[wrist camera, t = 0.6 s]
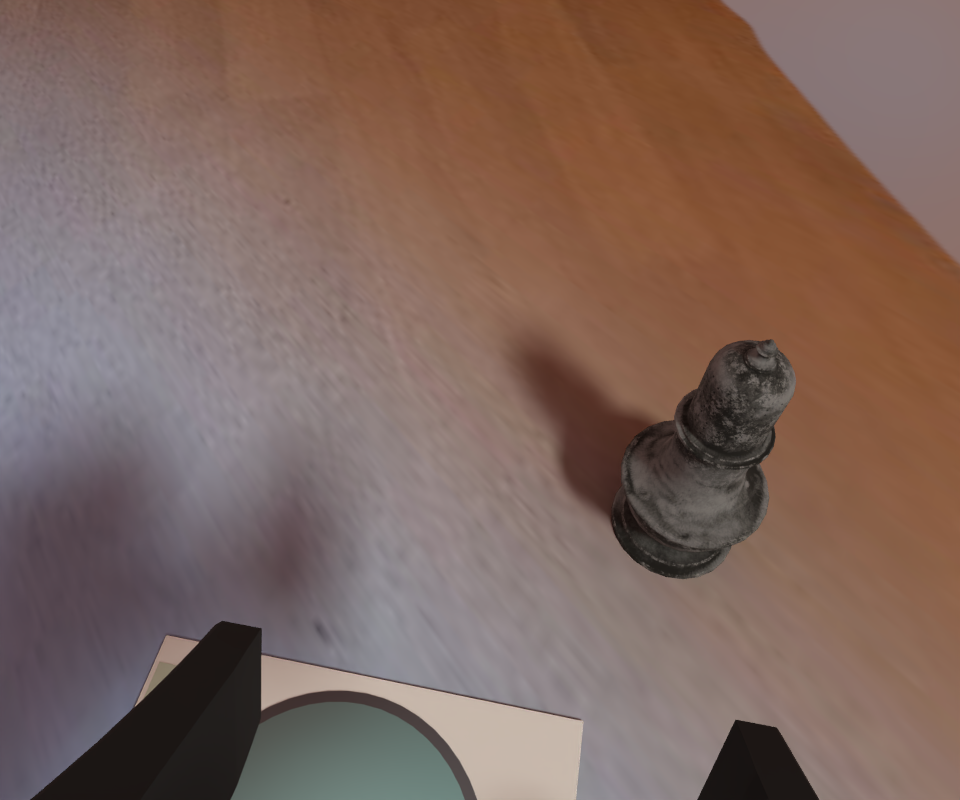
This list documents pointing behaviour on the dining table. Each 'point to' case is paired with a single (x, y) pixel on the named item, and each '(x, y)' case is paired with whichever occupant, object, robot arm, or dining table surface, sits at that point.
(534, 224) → the dining table surface
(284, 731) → the picture sheet
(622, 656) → the dining table surface
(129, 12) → the dining table surface
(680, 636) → the dining table surface
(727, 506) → the salt shaker
